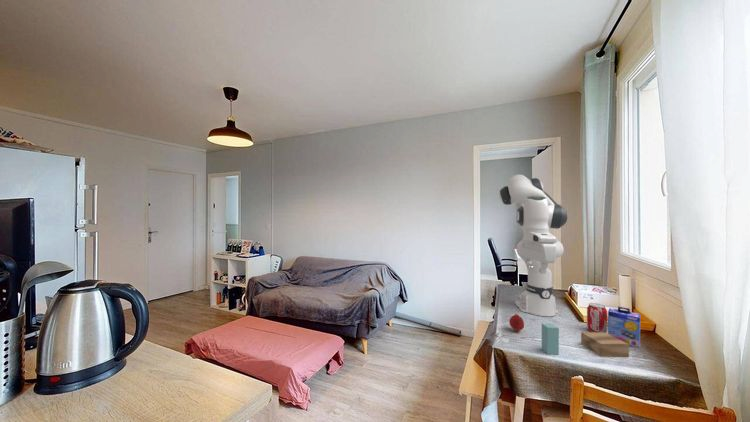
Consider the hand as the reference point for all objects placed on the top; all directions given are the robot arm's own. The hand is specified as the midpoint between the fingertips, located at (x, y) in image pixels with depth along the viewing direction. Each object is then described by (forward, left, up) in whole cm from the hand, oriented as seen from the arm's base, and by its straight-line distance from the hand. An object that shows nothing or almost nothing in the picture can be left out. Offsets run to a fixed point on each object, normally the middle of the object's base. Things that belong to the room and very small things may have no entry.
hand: (535, 270), depth 110 cm
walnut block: (+3, +24, -30) cm, 38 cm away
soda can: (-14, +34, -30) cm, 47 cm away
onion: (-12, -2, -30) cm, 32 cm away
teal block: (+6, +2, -30) cm, 30 cm away
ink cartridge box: (-5, +38, -30) cm, 49 cm away
